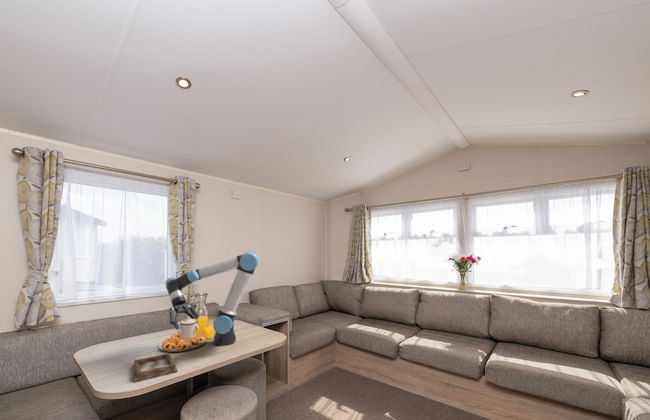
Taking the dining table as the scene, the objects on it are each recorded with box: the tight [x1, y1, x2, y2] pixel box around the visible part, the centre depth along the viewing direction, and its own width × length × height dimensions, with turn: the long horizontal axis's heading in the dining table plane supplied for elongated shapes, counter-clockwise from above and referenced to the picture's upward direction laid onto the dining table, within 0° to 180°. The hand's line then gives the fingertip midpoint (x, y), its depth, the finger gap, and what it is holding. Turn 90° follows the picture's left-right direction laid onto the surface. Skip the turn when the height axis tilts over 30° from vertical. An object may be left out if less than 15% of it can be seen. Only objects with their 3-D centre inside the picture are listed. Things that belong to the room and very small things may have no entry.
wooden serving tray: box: [131, 353, 179, 383], centre depth 158 cm, size 19×22×4 cm
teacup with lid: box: [178, 316, 198, 341], centre depth 172 cm, size 12×9×12 cm
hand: (189, 331), depth 169 cm, fingers closed on teacup with lid, 9 cm apart
